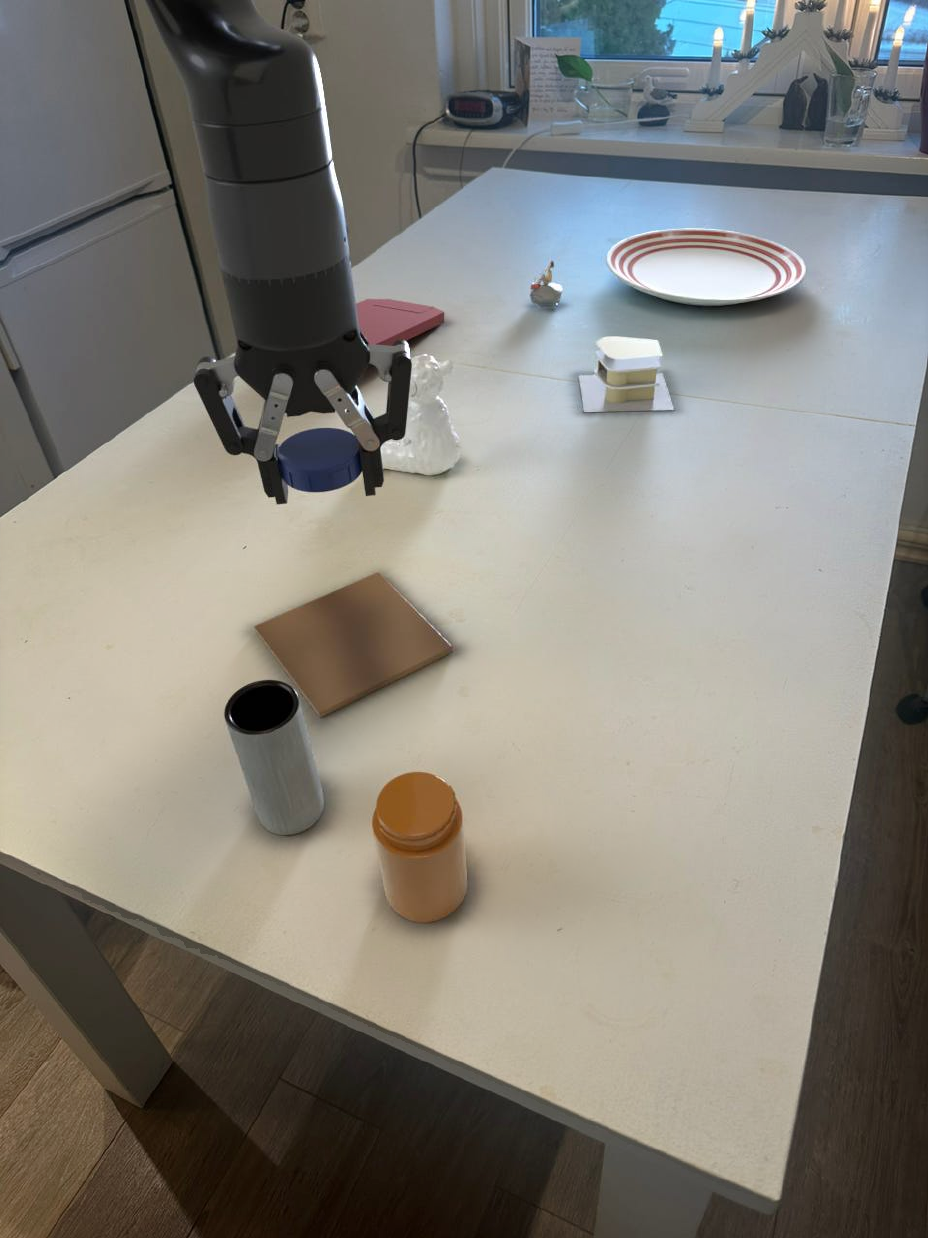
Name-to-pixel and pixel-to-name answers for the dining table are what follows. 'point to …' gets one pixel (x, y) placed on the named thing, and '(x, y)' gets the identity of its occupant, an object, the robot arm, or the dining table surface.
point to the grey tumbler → (275, 755)
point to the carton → (395, 320)
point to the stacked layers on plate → (626, 377)
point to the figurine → (546, 290)
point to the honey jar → (420, 846)
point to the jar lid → (320, 460)
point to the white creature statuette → (425, 424)
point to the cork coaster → (351, 642)
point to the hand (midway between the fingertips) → (327, 492)
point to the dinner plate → (705, 266)
